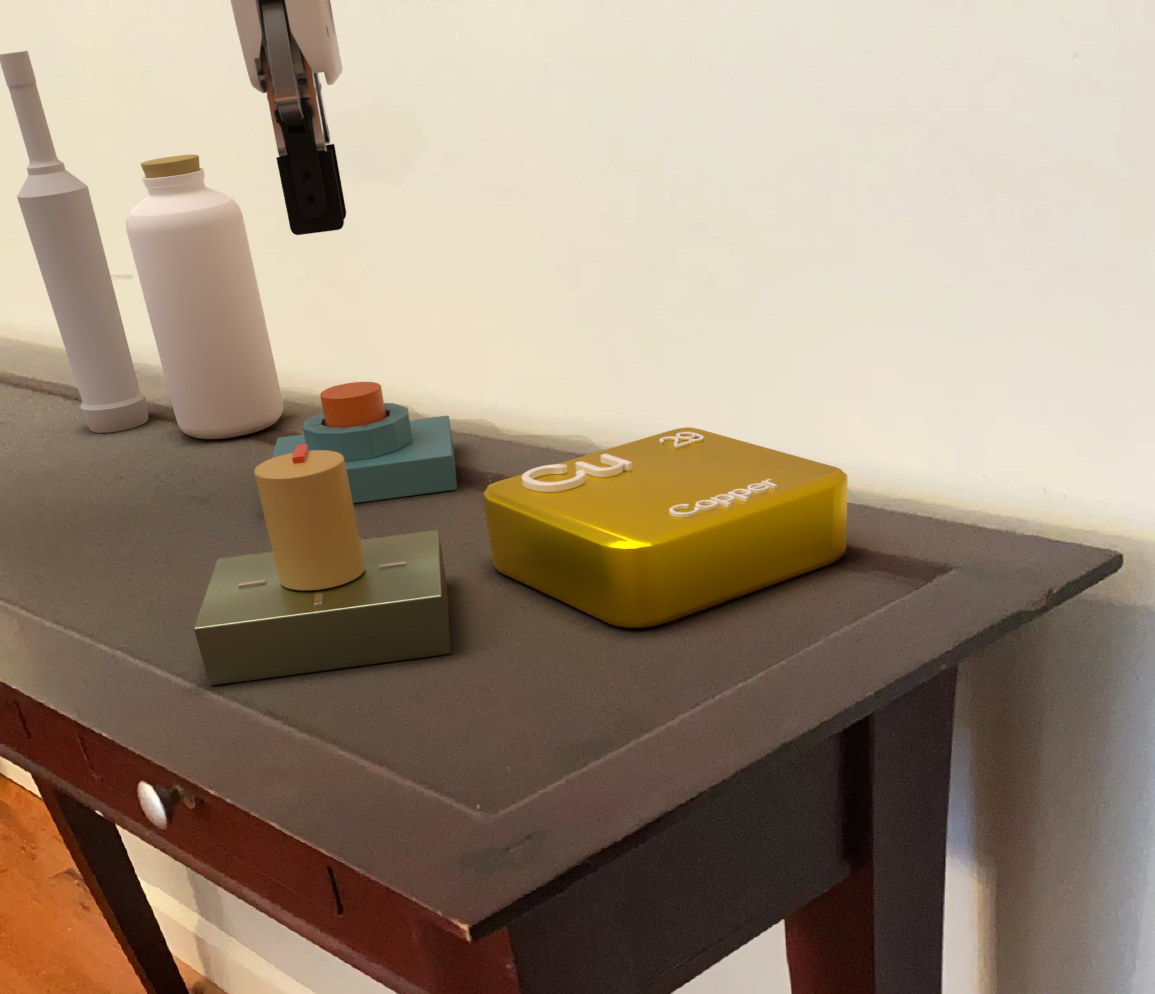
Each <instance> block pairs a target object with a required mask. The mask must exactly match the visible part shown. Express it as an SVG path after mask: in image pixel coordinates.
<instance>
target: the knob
mask: <svg viewBox="0 0 1155 994" xmlns="http://www.w3.org/2000/svg"><path fill="white" fill-rule="evenodd" d="M253 473H254V474H253V475H254V477H255V478H254V479H255V483H256V487H257V491H258V495H259V496H258V497H259V500H260V505H261V508H262V513H263V517H264V522H265V526H266V531H267V534H268V535H267V536H268V538H269V543H270V547H271V552H273V556H274V560H275V565H276V569H277V573H278V577H279V581H280V583H281V585H283V586H284V587H286V588H289V589H293V590H320V589H327V588H332V587H336V586H339V585H342V584H345V583H348V582H350V581H352V580H354V579H356V578H358V577H359V576H360V575H362V574H363V572H364V570H365V563H364V557H363V552H362V547H361V542H360V540H361V536H360V532H359V526H358V520H357V516H356V512H355V506H354V503H353V501H352V496H351V490H350V485H349V480H348V475H347V470H346V465H345V460H344V457H343V455H342V454H340V453H338V452H334V451H327V450H311V451H308V445H307V444H305V445H297V446H296V448H295V451H294V453H289V454H285V455H281V456H278V457H275V458H272V457H271V458H269V459H267V460H264V461H263V462H261V463H259V464H258V465H257V466H256V467H255V468H254V471H253Z"/></svg>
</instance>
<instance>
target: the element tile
mask: <svg viewBox="0 0 1155 994" xmlns="http://www.w3.org/2000/svg"><path fill="white" fill-rule="evenodd" d="M848 484H849V483H848V473H846V472H844V471H843V470H842V469H841V468H839V467H837V466H833V465H829V464H826V463H822V462H819V461H815V460H812V459H809V458H805V457H800V456H797V455H793V454H790V453H786V452H782V451H779V450H775V449H772V448H769V447H766V446H761V445H758V444H755V443H751V442H747V441H743V440H740V439H736V438H733V437H730V436H726V435H722V434H718V433H715V432H711V431H708V430H705V429H701V428H695V427H691V426H690V427H689V426H687V427H680V428H675V429H672V430H667V431H664V432H661V433H656V434H654V435H651V436H647V437H644V438H640V439H637V440H633V441H630V442H626V443H623V444H619V445H617V446H613V447H609V448H607V449H603V450H600V451H596V452H593V453H589V454H586V455H582V456H579V457H576V458H572V459H568V460H566V461H561V462H559V463H554V464H545V465H541V466H537V467H534V468H531V469H528V470H526V471H525V472H523V473H522V474H517V475H514V476H512V477H508V478H504V479H500V480H498V481H495V482H492V483H490V484H488V485H487V487H486V488H485V490H484V491H483V494H482V496H483V504H484V512H485V518H486V527H487V534H488V540H489V547H490V555H491V560H492V564H493V567H494V568H495V569H496V570H497V571H498V572H499V573H501V574H502V575H505V576H507V577H508V578H509V577H510V578H511V579H513V580H516V581H518V582H520V583H522V584H524V585H526V586H529V587H530V588H533V589H535V590H536V591H538V592H541V593H543V594H544V595H545V594H546V595H547V596H550V597H552V598H553V599H556V600H558V601H560V602H562V603H565V604H566V605H567V606H568V605H569V606H571V607H572V608H574V609H577V610H579V611H581V612H583V613H586V614H587V615H590V616H591V617H593V618H595V619H598V620H600V621H602V622H605V623H607V624H608V625H611V626H615V627H617V628H625V629H647V628H652V627H658V626H662V625H665V624H668V623H669V624H670V623H672V622H674V621H677V620H679V619H680V620H681V619H682V618H685V617H688V616H691V615H694V614H696V613H699V612H702V611H705V610H708V609H711V608H713V607H715V606H718V605H721V604H725V603H726V602H730V601H732V600H736V599H738V598H741V597H743V596H747V595H749V594H752V593H755V592H757V591H760V590H763V589H766V588H769V587H772V586H774V585H777V584H780V583H782V582H785V581H787V580H791V579H793V578H797V577H799V576H802V575H805V574H808V573H810V572H814V571H816V570H818V569H821V568H824V567H827V566H830V565H831V564H834V563H835V562H837V561H838V560H839V559H841V558H842V557H844V556H845V554H846V550H847V537H848V536H847V533H848Z"/></svg>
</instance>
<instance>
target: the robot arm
mask: <svg viewBox="0 0 1155 994" xmlns="http://www.w3.org/2000/svg"><path fill="white" fill-rule="evenodd" d="M230 5H231V11H232V13H233V14H232V15H233V18H234V22H235V23H234V24H235V27H236V31H237V35H238V39H239V43H240V47H241V52H242V55H243V59H244V63H245V68H246V71H247V74H248V75H247V76H248V79H249V81H250V84H251V86H252V88H254V89H255V90H256V91H258V92H260V93H262V94H266V100H267V102H268V107H269V112H270V117H271V118H270V119H271V123H272V129H273V133H274V140H275V145H276V149H277V153H278V156H276V164H277V169H278V174H279V179H280V184H281V188H282V193H283V199H284V204H285V208H286V214H287V219H288V224H289V229H290V232H291V233H292V234H293V235H295V236H302V235H309V234H317V233H326V232H333V231H339V230H341V229H343V227H344V224H345V219H346V216H347V209H346V202H345V198H344V191H343V186H342V180H341V175H340V169H339V163H338V158H337V157H338V155H337V151H336V146H335V143H332V142H331V135H330V130H329V124H328V119H327V114H326V107H325V102H324V97H323V90H322V89H323V88H322V83H321V80H320V74H319V73H324V78H325V82H326V84H327V85H328V86H332V85H334V84H335V83H336V81H337V80H338V79H339V77H340V76H341V74H342V73H343V69H344V68H343V63H342V58H341V53H340V52H341V51H340V47H339V42H338V37H337V31H336V26H335V20H334V14H333V8H332V3H331V0H230Z"/></svg>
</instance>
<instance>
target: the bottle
mask: <svg viewBox="0 0 1155 994" xmlns="http://www.w3.org/2000/svg"><path fill="white" fill-rule="evenodd" d="M0 67H1V70H2V73H3V74H2V75H3V77H4V81H5V84H6V86H7V87H8V91H9V94H10V98H11V102H12V106H13V108H14V112H15V115H16V119H17V122H18V126H19V129H20V133H21V136H22V140H23V143H24V147H25V150H26V154H27V157H28V160H29V162H28V163H29V164H28V165H27V167H26V171H27V177H26V179H25V180H24V183H23V184H22V186H21V188H20V190H19V192H18V194H17V196H16V198H17V202H18V205H19V208H20V211H21V214H22V217H23V220H24V223H25V226H26V227H25V228H26V230H27V233H28V237H29V239H30V243H31V246H32V249H33V252H34V255H35V259H36V261H37V263H38V267H39V271H40V273H41V277H42V280H43V283H44V286H45V290H46V293H47V296H48V299H49V302H50V305H51V308H52V311H53V315H54V318H55V321H56V324H57V327H58V330H59V333H60V336H61V340H62V342H63V347H64V349H65V353H66V355H67V358H68V362H69V364H70V368H71V371H72V374H73V377H74V381H75V384H76V386H77V390H78V393H79V396H80V399H81V404H80V407H79V408H80V412H81V415H82V418H83V420H84V423H85V425H86V426H87V428H88V429H89V430H90V432H92V433H98V434H101V433H114V432H121V431H127V430H130V429H134V428H137V427H139V426H142V425H144V424H146V423H147V422H148V420H149V407H148V403H147V400H146V395H145V394H144V393H143V392H141V390H140V386H139V382H138V378H137V374H136V370H135V366H134V363H133V358H132V355H131V351H130V347H129V343H128V339H127V335H126V330H125V327H124V323H123V320H122V316H121V315H122V314H121V311H120V307H119V305H118V300H117V295H116V292H115V288H114V284H113V281H112V275H111V272H110V267H109V265H108V261H107V260H108V259H107V256H106V254H105V253H106V252H105V249H104V245H103V241H102V237H101V232H100V229H99V224H98V220H97V217H96V213H95V209H94V205H93V201H92V197H91V194H90V190H89V185H87V184H86V183H84V182H83V181H82V180H81V179H79V178H78V177H76V176H75V175H73V174H72V173H71V172H69V171H68V170H67V169H66V166H65V163H64V162H63V161H61V160H60V159H59V157H57V153H56V149H55V146H54V142H53V139H52V135H51V131H50V128H49V124H48V121H47V118H46V115H45V110H44V107H43V103H42V100H41V96H40V93H39V90H38V86H37V79H36V76H35V75H36V74H35V72H34V68H33V65H32V62H31V58H30V54H29V51H28V50H22V51H21V50H20V51H13V52H6V53H0Z"/></svg>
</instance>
